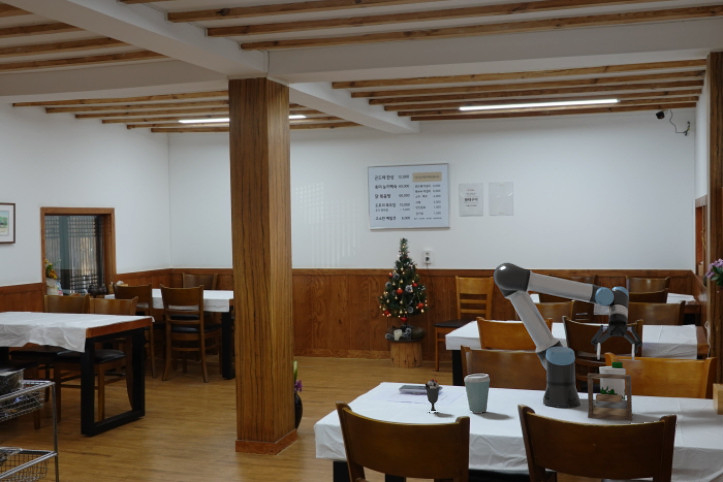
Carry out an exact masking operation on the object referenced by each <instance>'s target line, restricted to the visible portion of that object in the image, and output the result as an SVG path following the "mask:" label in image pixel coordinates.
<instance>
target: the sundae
mask: <svg viewBox="0 0 723 482" xmlns="http://www.w3.org/2000/svg"><path fill="white" fill-rule="evenodd" d="M436 377H437V374H434V377H433V378H431V379H430V380H428V382H426V383H424V385H425V386H424V389H425V390H426V397H427V401H428V402H429V403H430V404H431V408H430V410H431V411H436V408H435V404H436V403H437V402H438V401H439V400H438V399H439V393H440V389H441V386H440V385H439V383H438V380H437V378H436Z"/></svg>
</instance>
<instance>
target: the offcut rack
mask: <svg viewBox="0 0 723 482" xmlns="http://www.w3.org/2000/svg"><path fill="white" fill-rule="evenodd" d="M600 378H609V379H625V391H626V399H625V400H622V395H609V394H601V393H597V394H596V395H595V404H594V379H600ZM632 401H633V398H632V375H631V374H625V375H617V374H600V373H591V372H588V373H587V402H588V403H587V405H588V406H587V407H588V414H587V419H601V420H614V421H615V420H616V421H627V422H628V421H629V422H630V421H631V422H633V419H634V413H633V406H632V405H633V402H632Z"/></svg>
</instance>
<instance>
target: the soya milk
mask: <svg viewBox="0 0 723 482" xmlns="http://www.w3.org/2000/svg"><path fill="white" fill-rule="evenodd" d="M598 368H599V374H617V375H626V370H627V369H626V368H625V367H623V362H622V361H612V362H611V365H609V366H607V365H606V366H599V367H598ZM599 384H600V385H599V387H600V388H599V389H600V390H599V391H600V393H599V394H609V395H622V400H626V379H609V378H599Z"/></svg>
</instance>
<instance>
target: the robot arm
mask: <svg viewBox="0 0 723 482" xmlns="http://www.w3.org/2000/svg"><path fill="white" fill-rule="evenodd" d="M493 281H494V283H495V285H496V286H497V287H498V289H499V291H500V293H501V295H502V296H503V297H504V298H505V299H507V300H509V301H510V303H511V305H512V306H513V308H514V310H515V311H516V313H517V314H518V317H519V319H520V320H521V322H522V324H523V325H524V327H525V329H526V330H527V333H528V334H529V336H530V337H531V340H532V341H533V342H534V345H535V347H536V348H535V351H534V352H535V354H536V355H537V358H538V359H539V360H540V363H541V365H542V368H544V369H545V371H546V387H545V391H544V393H543V398H542V405H544V404H545V405H544V406H546V405H548V406H547V407H551V406H552V407H554V408H574V407H575V408H576V407H579V406H580V405H581V399H580V396H579V393H578V392H579V391H578V389H577V388H576V363H575V362H576V356H575V351H574V350H573V349H572V348H570V347H567V346H563V344H562V342H561V341H560V338H556V337H554V336H553V335H554V334H552V332H551V329H550V328H549V326H548V325H547V322H546V321H545V319H544V317H543V316H542V314H541V312H540V310H539V309H538V308H537V306H536V303H535V301H534V300H533V299H532V297H531V295H530V293H529V291H532V292H537V293H540V294H541V293H542V294H547V295H551V296H556V297H561V298H565V299H571V300H575V301H579V302H580V301H581V302H586V303H590V304H594V305H599V306H602V307H609V312H608V322H607V323H608V324H607V326H605V325H604V324H600V327H599V329H598V330H597V332H596V333H595V334H594V336H593V337H592V338H591V339H590V341H591V345H592V346H594V351H595V352H596V357H597V360H600V359H601V358H600V356H601V345H602V344H603V343H604V342H605V341H606V340H608V339H609V338H611V337H619V338H620V337H623V338H624V339H626V340H627V341H628V342H629V343H630V344H631V361H633V362H634V361H635V354H638V352H639V351H638V350H639V349H638V348H639V347H640V348H641V347H643V341H642V338H640V335H639V334H638V333H637V330H636V328H635V325H631V326H628V315H629V302H630V298H629V297H630V296H629V290H628V289H627V288H625V287H623V286H614V287H613V288H612V289H610V288H609V287H606V286H605V287H604V286H599V285H596V284H594V283H593V284H592V283H584V282H580V281H579V282H578V281H575V280H571V279H570V280H569V279H565V278H560V277H555V276H550V275H546V274H540V273H537V272H536V273H535V272H533V271H532V270H531V269H527V268H523V267H521V266H519V265H517V264H514V263H513V262H504V263H501V264H500V265H498V266H497V267H496V268H495V270H494V272H493ZM628 331H629V332H630V333H631V334H632V336H633V337H634V338H633V337H632V336H631V335H630V334H629V333H628ZM603 333H604V334H603Z"/></svg>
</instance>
